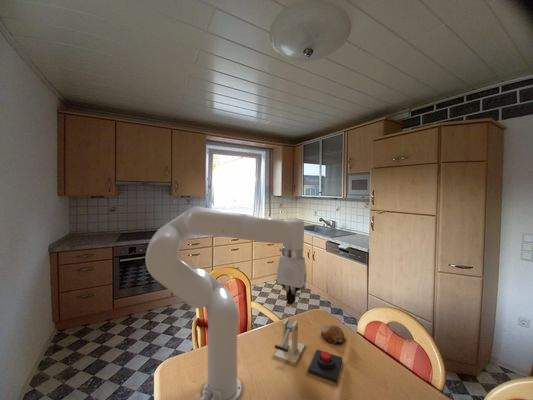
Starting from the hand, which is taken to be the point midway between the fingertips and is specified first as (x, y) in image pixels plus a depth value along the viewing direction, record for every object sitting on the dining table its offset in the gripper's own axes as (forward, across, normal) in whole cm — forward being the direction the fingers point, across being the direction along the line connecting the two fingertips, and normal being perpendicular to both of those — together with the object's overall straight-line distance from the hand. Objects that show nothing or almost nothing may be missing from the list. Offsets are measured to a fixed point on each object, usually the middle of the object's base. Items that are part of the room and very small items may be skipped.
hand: (290, 302), depth 84 cm
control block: (+25, +12, +8) cm, 29 cm away
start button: (+22, +12, +8) cm, 26 cm away
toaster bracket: (+26, -3, +10) cm, 28 cm away
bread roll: (+25, +11, +27) cm, 39 cm away
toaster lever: (+17, -3, +6) cm, 19 cm away
